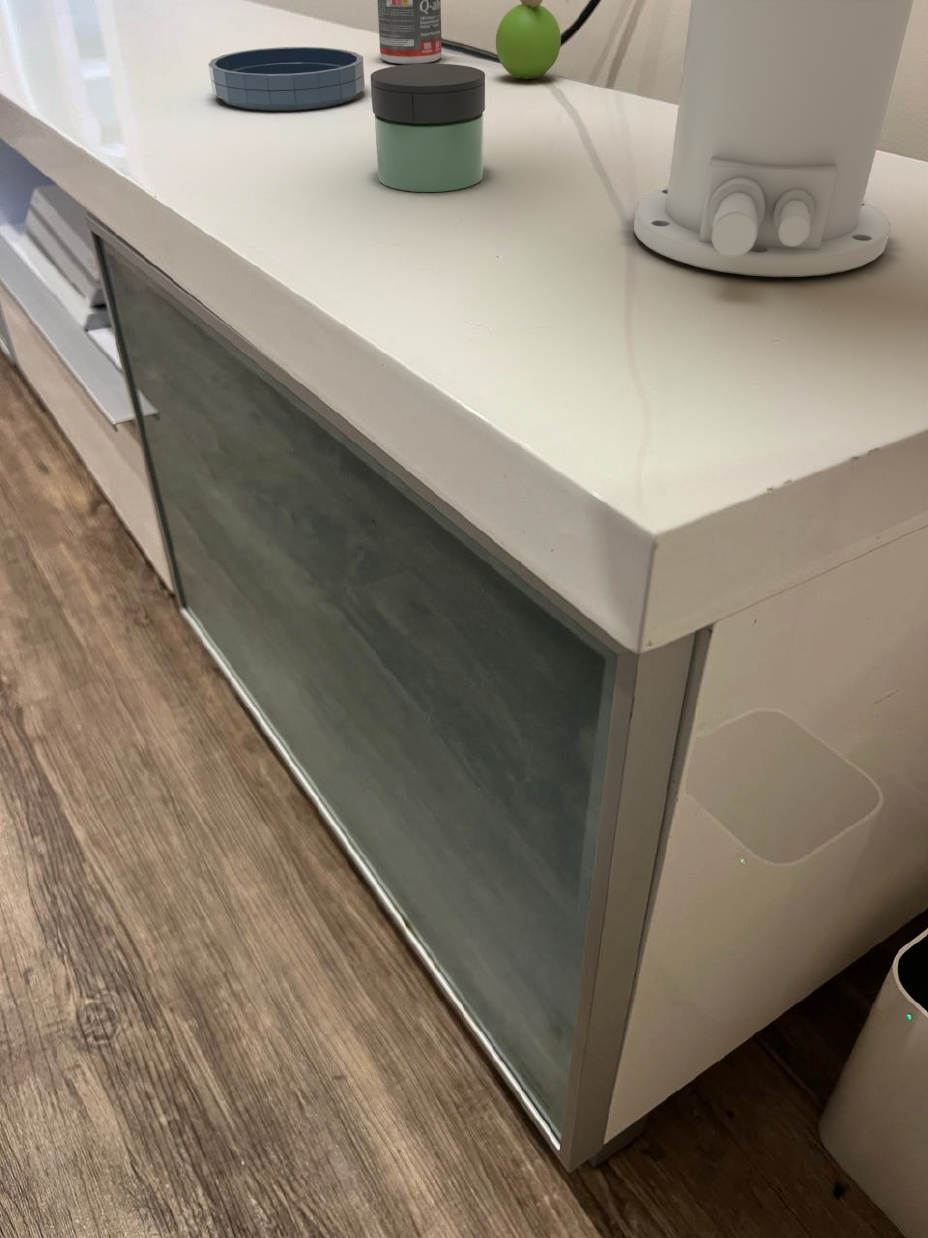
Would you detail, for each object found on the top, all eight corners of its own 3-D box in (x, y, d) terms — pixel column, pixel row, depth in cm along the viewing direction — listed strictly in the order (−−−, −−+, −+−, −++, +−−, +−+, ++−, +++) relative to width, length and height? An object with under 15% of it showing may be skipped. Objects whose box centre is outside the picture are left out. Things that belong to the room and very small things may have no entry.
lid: (469, 126, 52) (468, 88, 51) (356, 120, 54) (353, 83, 52) (496, 100, 57) (496, 65, 56) (392, 95, 59) (390, 61, 57)
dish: (334, 115, 70) (331, 77, 69) (188, 108, 73) (181, 71, 71) (384, 83, 79) (382, 49, 78) (252, 77, 82) (248, 44, 80)
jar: (468, 195, 55) (468, 96, 52) (364, 188, 56) (357, 91, 53) (493, 166, 60) (494, 74, 56) (396, 160, 61) (392, 69, 58)
